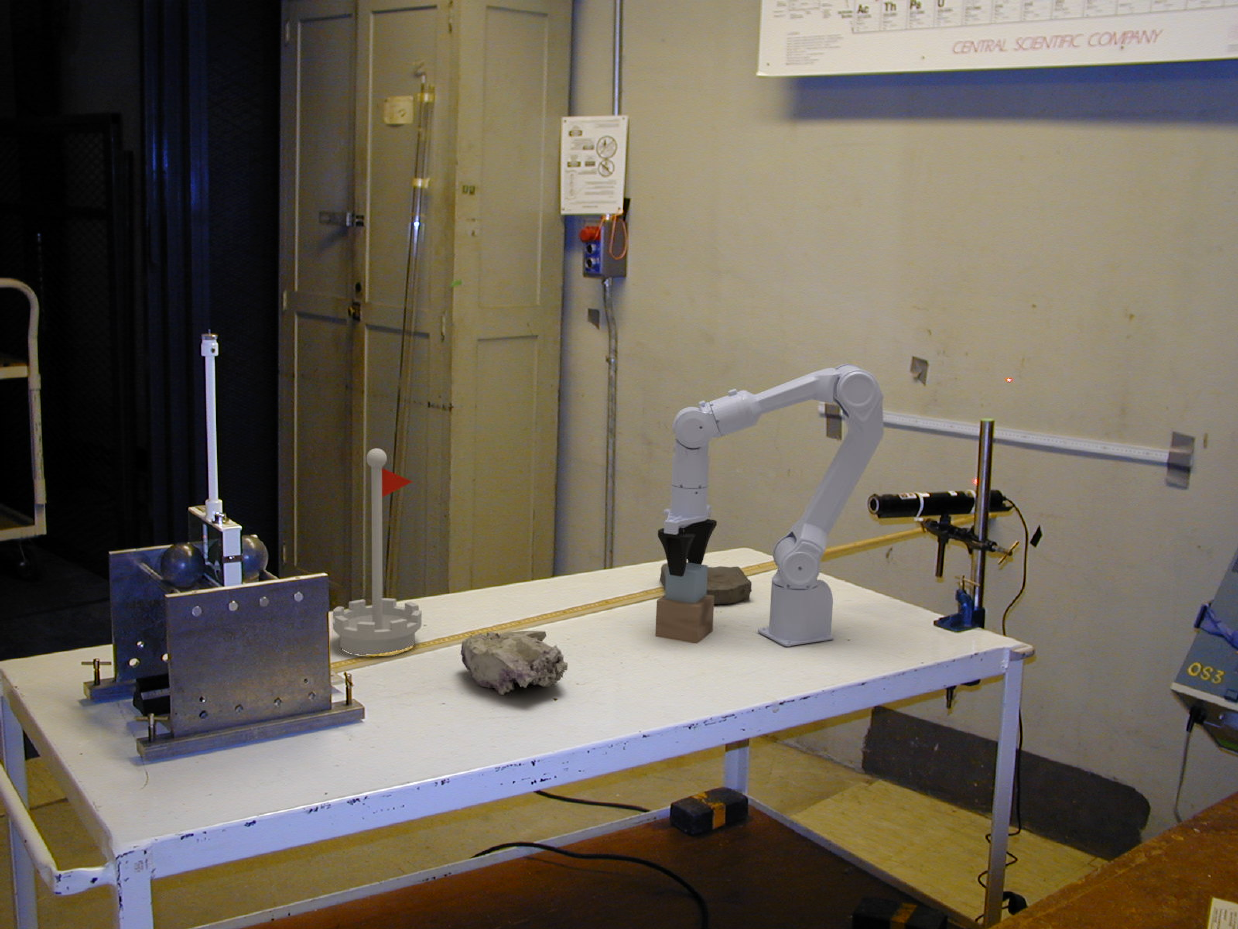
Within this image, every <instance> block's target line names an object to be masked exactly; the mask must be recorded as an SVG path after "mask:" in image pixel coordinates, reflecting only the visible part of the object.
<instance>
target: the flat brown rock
mask: <svg viewBox="0 0 1238 929" xmlns="http://www.w3.org/2000/svg"><path fill="white" fill-rule="evenodd" d="M667 567H668V563H663V564H662V565H661V568H660V578H659V581H660V583H661V584H662V587H663V586H664V587H665V584H666V568H667ZM744 572H745V571H743V570H742V569H741V567H739V566H721V565H720V566H714V567H713V566H712V567H711V566H708V570H707V593H706V595H712V596H714V605H721V604H728V605H729V604H734V603H738V602H741V601H748V600H750V595H751V593H752V591H753V590H752V581H751V580H750V579H749V578H748V576H746V575H745V573H744ZM664 587H663V588H664Z"/></svg>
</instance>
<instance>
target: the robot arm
mask: <svg viewBox="0 0 1238 929" xmlns="http://www.w3.org/2000/svg"><path fill="white" fill-rule="evenodd" d="M727 393H728V395H725V396H722V397H720V398H719V397H718V398H716V399H714V400H711V401H708V402H706V401H705V400H700V401H699V402H698V405H699V407H695V406H688V407H685V408H683V409H681V410H679V411H678V413H677V414H676V415H675V417H674V419H673V423H672V425H671V426H672V430H673V431H672V432H673V433H674V436H675V439H674V443H673V451H674V452H673V454H672V459H671V460H672V464H671V481H670V482H671V483H670V484H671V485H670V486H671V487H670V490H671V491H670V508H665V509H663V512H662V514H663V515H664V516H667V517H666V518H667V519H666V520H664V523H663V524H664V526H663V528H659V529H658V530H657V537H658V539H659V541H660V543H661V545H662V548H663V550H664V553H665V554H664V555H665V558H666V562H667V563H668V569H669V573H670V575H674V576H680V577H682V576H683V575H684V573H685V569H686V563H687V562H688V563H695V564H701V565H703V562H704V558H705V554H706V551H707V547H708V543H709V542H710V538H711V536H712V535H713V532H714V530H715V529H716V527H717V524H718V522H717V520H715V519H710V517H711V515H712V514H711V511H712V505H711V504H708V499H709V498H708V496H709V478H710V477H709V475H710V474H709V473H710V456H709V443H710V441H711V440H712V438H717V439H719V438H721V437H726V436H728V435H730V434H733V433H734V434H735V433H736V432H739V431H743V430H745V429H749V428H751V427H754V426H756V425H757V424H758V422H759V419H760V417H761V416H762V415H764V414H767V413H770V412H773V411H776V410H780V409H784V408H786V407H791V406H794V405H796V404H801V403H803V402H807V401H810V400H814V401H820V402H823V403H828V404H831V405H832V404H834V402H835V403H836V404H837V406H838V407H839V409H840V410H841V412H842V416H843V418H844V421H845V424H846V427H847V433H846V435H845V437H844V439H843V440H842V441H841V442H842V443H841V444H840V446H839V447H838V450H837V452H836V453H835V455H834V457H833V459H832V460H831V462H830V463H829V466H828V467H827V470H826V471H825V473H824V474H823V476H822V479H821V480H820V482H819V484H818V486H817V487H816V490H815V492H814V493H813V495H812V497H811V499H810V500H809V502H808V504H807V505H806V507H805V509H804V512H803V513H802V515H801V517H800V518H799V519H798V520H797V521H795V523H794V524H792V526H791V528H790V529H789V531H788V533H787V534H785V535H784V536H782V537H781V538H780V539H779V540H777V542H776V543H775V545H774V547H773V550H772V558H773V562H774V563H775V565H776V567H777V568H778V569H777V570H776V572H775V573H774V575H773V576H772V577H771V589H770V604H769V605H770V606H769V622H768V623H769V626H768V627H762V628H761V627H760V628H758V629H757V633H759V634H761V635H763V636H765V637H766V638H769V639H771V640H772V641H773V642H774V641H775V642H776V643H778V644H780V645H782V646H784V647H791V646H799V645H803V644H804V645H805V644H811V643H818V642H823V641H829V640H834V638H835V637H834V635H833V634H832V621H833V606H834V605H833V603H834V598H833V593H832V592H833V591H832V590H831V587H830V586H829V584H828V583H827V582H826V581H825V580H822V579H818V577H819V575H820V572H821V561H822V559H823V558H822V557H823V556H824V554H825V552H826V548H827V545H828V538H829V535H830V533H831V531H832V530H833V528H834V526H835V524H836V523H837V520H838V519H839V516H840V515H841V513H842V511H843V510H844V508H845V506H846V504H847V503H848V501H849V499H850V497H851V495H852V493H853V492H854V490H855V488H856V486H857V484H858V483H859V481H860V479H861V477H862V475H863V474H864V471H865V470H866V468H867V466H868V464H869V462H870V461H871V459H872V457H873V456H874V453H875V452H876V451H877V448H878V447H879V445H880V443H881V441H882V439H883V437H884V433H885V430H884V427H885V426H884V412H883V411H884V409H883V403H884V397H885V396H884V394H883V391H882V389H881V387H880V385H879V383H878V380H877V379H876V377H875V376H874V375H873V374H872V373H871V372H870V371H867V370H865V369H862V368H861V367H860V366H858V365H856V364H854V363H842V364H840V365H838V366H836V367H835V368H834V367H826V368H824V369H820V370H817V371H813V372H810V373H808V374H805V375H802V376H800V377H798V378H795V379H793V380H790V381H787V382H784V383H782V384H779V385H777V386H774V387H772V388H769V389H766V390H764V391H762V392H758V393H756V394H755V393H751V392H749V391H747V390H745V389H742V390H739V391H738V390H737V388H733V389H730V390H728V391H727Z"/></svg>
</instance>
